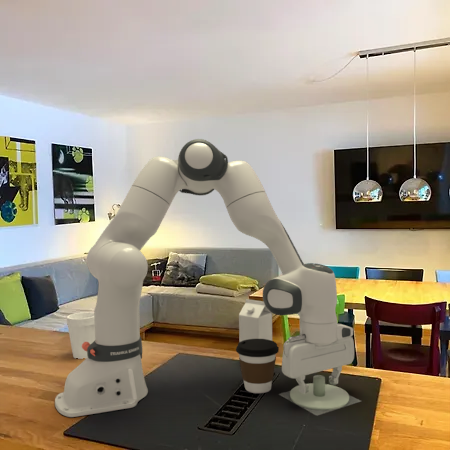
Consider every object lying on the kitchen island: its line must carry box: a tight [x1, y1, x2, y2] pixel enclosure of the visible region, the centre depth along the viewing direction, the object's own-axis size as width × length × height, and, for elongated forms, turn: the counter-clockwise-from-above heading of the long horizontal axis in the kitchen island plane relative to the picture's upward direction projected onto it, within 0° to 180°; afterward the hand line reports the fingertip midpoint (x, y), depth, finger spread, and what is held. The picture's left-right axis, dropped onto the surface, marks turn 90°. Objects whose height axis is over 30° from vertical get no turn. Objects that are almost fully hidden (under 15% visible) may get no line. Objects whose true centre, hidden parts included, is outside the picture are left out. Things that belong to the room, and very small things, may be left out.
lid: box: [289, 374, 350, 411], centre depth 113 cm, size 14×14×5 cm
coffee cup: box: [235, 339, 280, 394], centre depth 120 cm, size 11×11×12 cm
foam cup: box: [66, 311, 95, 360], centre depth 151 cm, size 10×9×13 cm
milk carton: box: [238, 298, 273, 343], centre depth 140 cm, size 7×7×19 cm
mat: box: [278, 390, 362, 417], centre depth 114 cm, size 14×14×1 cm
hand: (319, 387), depth 113 cm, fingers open, 8 cm apart
